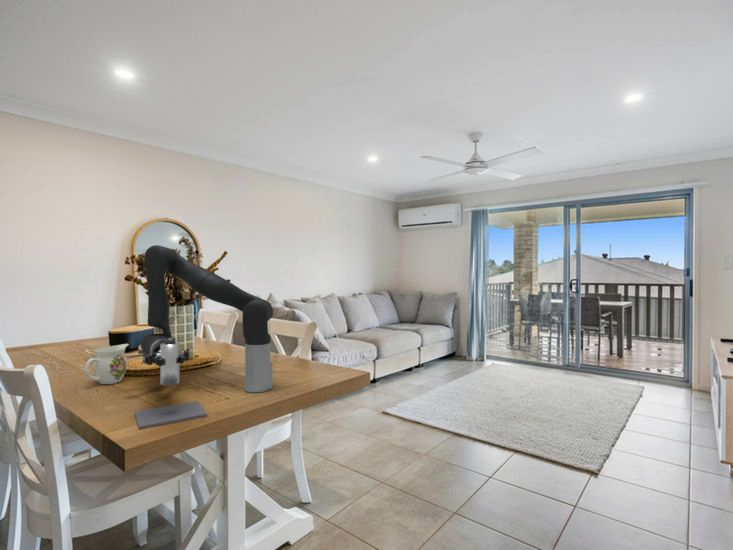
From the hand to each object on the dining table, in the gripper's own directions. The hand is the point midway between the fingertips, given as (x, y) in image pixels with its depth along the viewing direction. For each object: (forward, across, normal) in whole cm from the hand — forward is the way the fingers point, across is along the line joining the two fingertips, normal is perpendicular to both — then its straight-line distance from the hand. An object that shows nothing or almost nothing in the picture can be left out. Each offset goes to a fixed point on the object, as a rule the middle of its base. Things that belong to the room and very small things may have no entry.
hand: (171, 361), depth 119 cm
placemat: (-2, 0, +17) cm, 17 cm away
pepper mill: (-3, 0, +7) cm, 7 cm away
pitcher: (-53, -15, +18) cm, 58 cm away
